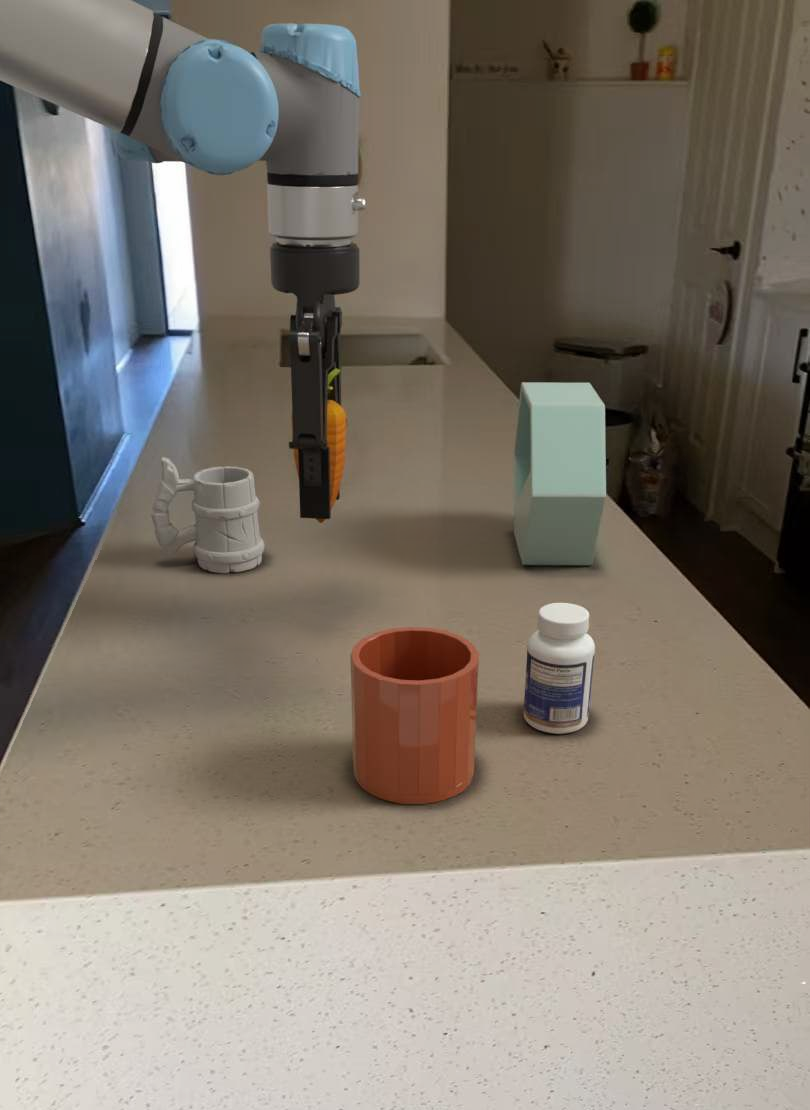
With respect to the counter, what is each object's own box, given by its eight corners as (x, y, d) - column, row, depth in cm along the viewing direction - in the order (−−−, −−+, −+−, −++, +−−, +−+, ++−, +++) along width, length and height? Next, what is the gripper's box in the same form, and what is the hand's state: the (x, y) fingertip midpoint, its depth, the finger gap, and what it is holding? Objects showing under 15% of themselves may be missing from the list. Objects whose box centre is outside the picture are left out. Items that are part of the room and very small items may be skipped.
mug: (267, 572, 118) (261, 463, 112) (156, 579, 116) (144, 469, 111) (262, 546, 125) (256, 443, 119) (157, 553, 123) (145, 448, 117)
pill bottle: (542, 697, 94) (550, 593, 89) (599, 715, 91) (609, 609, 86) (510, 723, 90) (516, 615, 85) (568, 742, 87) (578, 632, 83)
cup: (345, 801, 80) (342, 680, 75) (362, 736, 88) (360, 624, 83) (471, 808, 79) (476, 687, 74) (476, 742, 87) (480, 629, 82)
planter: (514, 579, 128) (512, 408, 130) (580, 579, 128) (577, 408, 130) (532, 549, 112) (529, 352, 113) (607, 548, 112) (604, 352, 113)
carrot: (297, 512, 105) (292, 353, 98) (349, 514, 105) (347, 354, 98) (291, 530, 101) (285, 365, 94) (345, 532, 101) (343, 367, 94)
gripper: (343, 254, 83) (346, 542, 94) (372, 230, 99) (371, 480, 110) (246, 251, 84) (261, 538, 95) (290, 228, 99) (298, 477, 111)
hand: (320, 506), depth 102 cm, fingers closed on carrot, 5 cm apart
